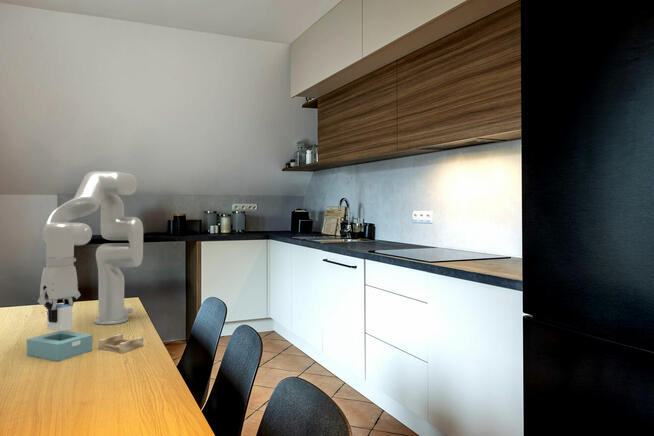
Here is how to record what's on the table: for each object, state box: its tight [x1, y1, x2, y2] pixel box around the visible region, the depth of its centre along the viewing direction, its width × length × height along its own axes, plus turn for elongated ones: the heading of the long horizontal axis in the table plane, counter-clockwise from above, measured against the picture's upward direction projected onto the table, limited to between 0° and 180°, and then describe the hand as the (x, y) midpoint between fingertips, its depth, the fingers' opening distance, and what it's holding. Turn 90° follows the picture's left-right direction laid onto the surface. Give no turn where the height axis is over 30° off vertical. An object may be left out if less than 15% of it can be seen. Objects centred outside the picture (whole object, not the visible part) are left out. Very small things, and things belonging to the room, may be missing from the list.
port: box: [26, 330, 93, 362], centre depth 147 cm, size 12×14×5 cm
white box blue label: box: [46, 303, 73, 332], centre depth 147 cm, size 4×6×8 cm, turn 67°
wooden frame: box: [98, 333, 144, 354], centre depth 153 cm, size 9×10×3 cm
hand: (59, 320), depth 147 cm, fingers closed on white box blue label, 4 cm apart
